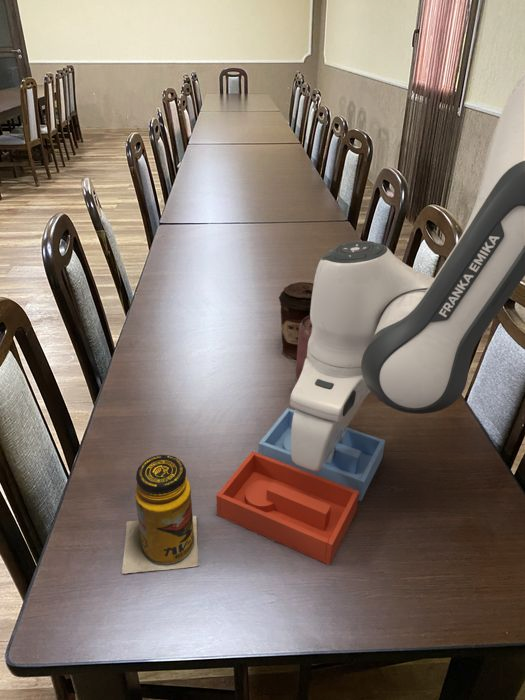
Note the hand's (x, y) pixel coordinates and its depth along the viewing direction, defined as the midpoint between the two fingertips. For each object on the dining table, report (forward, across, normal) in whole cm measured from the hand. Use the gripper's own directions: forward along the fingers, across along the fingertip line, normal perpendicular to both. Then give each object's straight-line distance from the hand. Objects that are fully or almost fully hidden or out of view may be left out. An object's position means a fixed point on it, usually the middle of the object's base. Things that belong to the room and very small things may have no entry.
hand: (331, 451), depth 75 cm
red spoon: (+2, +11, -2) cm, 11 cm away
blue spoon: (+2, 0, -2) cm, 2 cm away
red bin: (+2, +11, -1) cm, 11 cm away
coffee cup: (+2, -25, -16) cm, 30 cm away
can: (+2, -13, -8) cm, 16 cm away
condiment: (+2, +23, -12) cm, 26 cm away
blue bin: (+2, 0, -1) cm, 3 cm away
